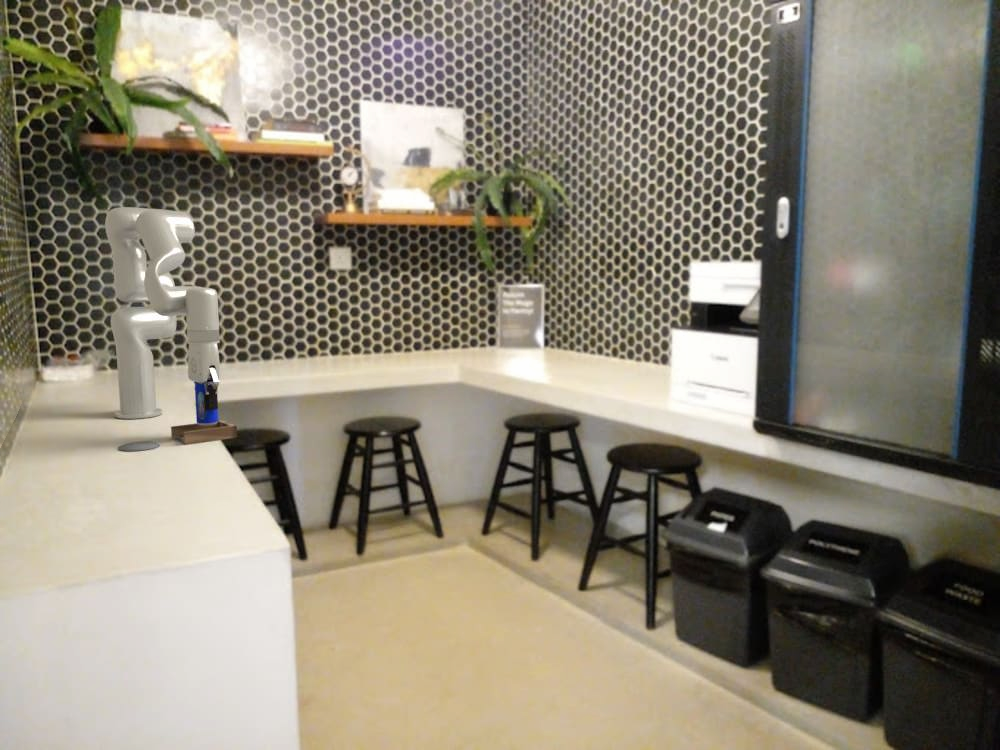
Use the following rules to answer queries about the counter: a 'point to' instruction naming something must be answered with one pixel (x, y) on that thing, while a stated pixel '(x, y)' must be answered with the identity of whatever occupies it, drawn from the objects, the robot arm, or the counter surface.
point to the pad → (138, 446)
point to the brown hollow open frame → (203, 432)
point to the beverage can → (201, 414)
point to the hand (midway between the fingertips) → (206, 407)
